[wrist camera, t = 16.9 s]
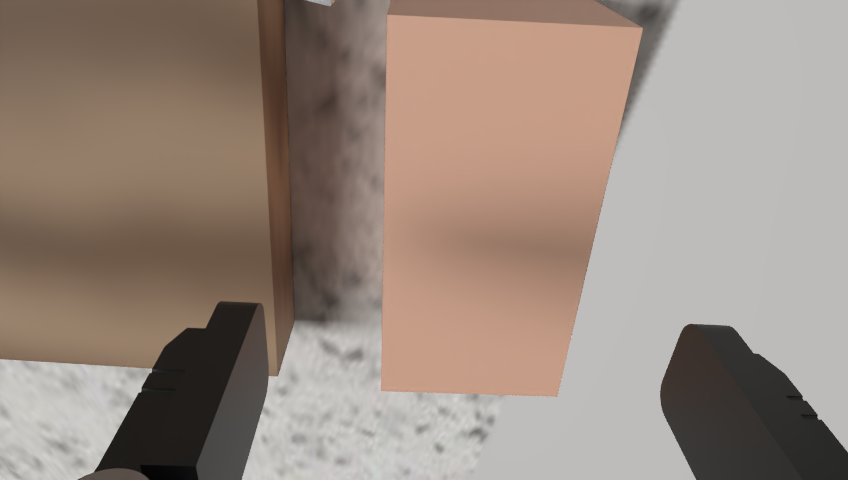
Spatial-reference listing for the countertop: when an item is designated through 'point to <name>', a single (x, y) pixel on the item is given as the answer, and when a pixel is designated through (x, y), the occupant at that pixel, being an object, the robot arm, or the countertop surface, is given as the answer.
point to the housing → (141, 175)
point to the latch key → (323, 2)
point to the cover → (494, 185)
